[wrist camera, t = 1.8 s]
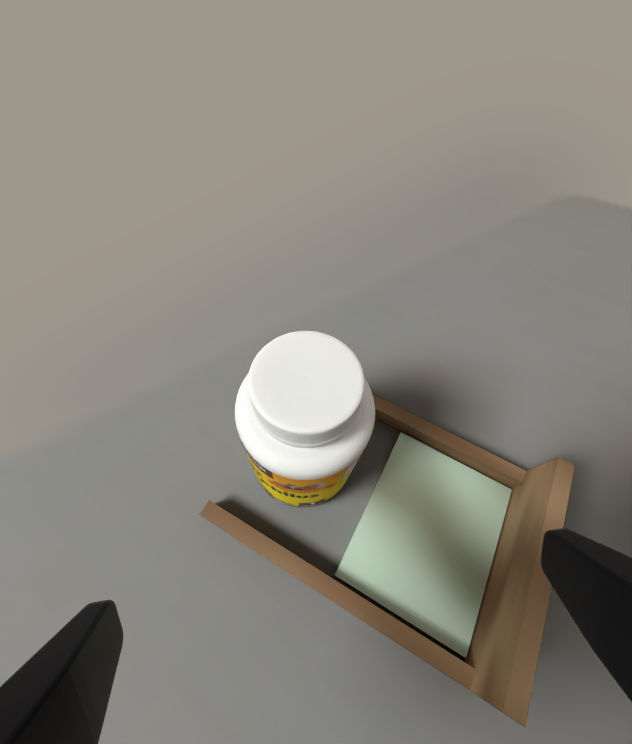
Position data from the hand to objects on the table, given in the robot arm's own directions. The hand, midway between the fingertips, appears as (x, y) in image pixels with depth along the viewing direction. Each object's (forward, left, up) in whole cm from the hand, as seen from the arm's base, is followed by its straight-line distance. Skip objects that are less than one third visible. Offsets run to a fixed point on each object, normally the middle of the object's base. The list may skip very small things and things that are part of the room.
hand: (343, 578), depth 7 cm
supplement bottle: (+5, +4, -12) cm, 14 cm away
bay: (+5, -1, -12) cm, 13 cm away
